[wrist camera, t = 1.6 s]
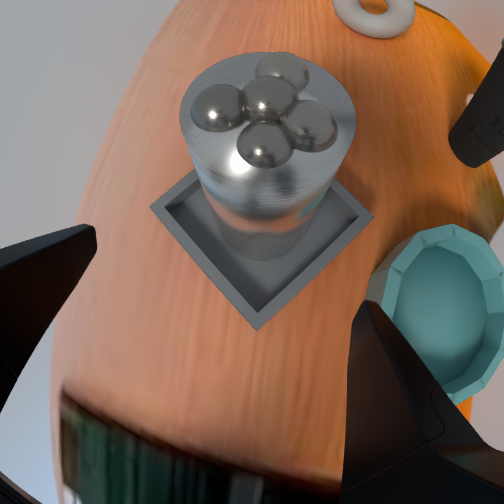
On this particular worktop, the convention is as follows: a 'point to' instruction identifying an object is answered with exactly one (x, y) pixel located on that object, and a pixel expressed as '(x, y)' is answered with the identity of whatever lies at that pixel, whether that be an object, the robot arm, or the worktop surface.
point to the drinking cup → (482, 120)
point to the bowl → (446, 305)
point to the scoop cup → (266, 146)
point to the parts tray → (259, 272)
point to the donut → (376, 17)
